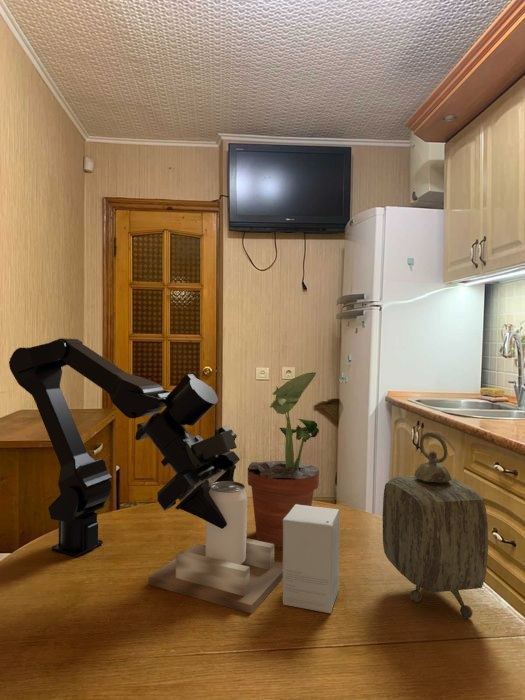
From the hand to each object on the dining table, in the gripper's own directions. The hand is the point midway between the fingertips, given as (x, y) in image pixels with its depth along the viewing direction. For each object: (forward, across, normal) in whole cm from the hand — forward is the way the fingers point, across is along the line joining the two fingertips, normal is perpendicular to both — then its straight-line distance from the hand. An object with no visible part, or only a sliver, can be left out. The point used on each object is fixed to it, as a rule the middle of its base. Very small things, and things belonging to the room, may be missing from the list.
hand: (233, 519), depth 76 cm
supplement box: (+16, 0, -2) cm, 16 cm away
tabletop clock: (+28, +6, -14) cm, 31 cm away
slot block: (+6, 0, +8) cm, 10 cm away
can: (+4, 0, +6) cm, 7 cm away
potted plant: (+8, +21, +6) cm, 23 cm away
